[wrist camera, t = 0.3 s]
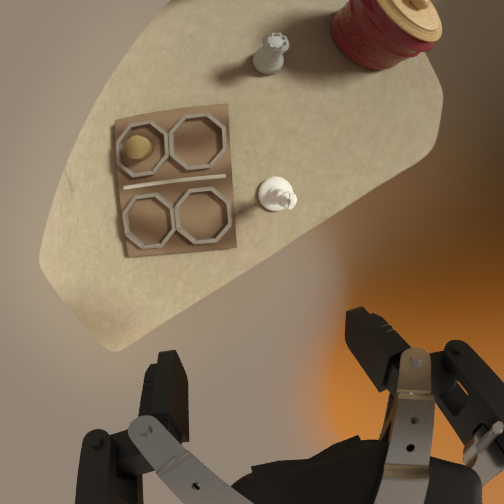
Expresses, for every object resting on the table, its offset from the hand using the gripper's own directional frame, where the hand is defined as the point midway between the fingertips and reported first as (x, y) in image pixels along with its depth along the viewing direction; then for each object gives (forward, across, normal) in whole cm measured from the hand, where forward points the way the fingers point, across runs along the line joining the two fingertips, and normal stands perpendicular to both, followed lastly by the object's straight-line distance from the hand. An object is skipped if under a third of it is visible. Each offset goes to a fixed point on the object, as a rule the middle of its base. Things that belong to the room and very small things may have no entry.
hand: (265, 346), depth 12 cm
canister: (+29, -28, -26) cm, 48 cm away
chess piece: (+28, -8, -1) cm, 29 cm away
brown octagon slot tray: (+29, +6, -6) cm, 30 cm away
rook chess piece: (+30, -10, -21) cm, 38 cm away
